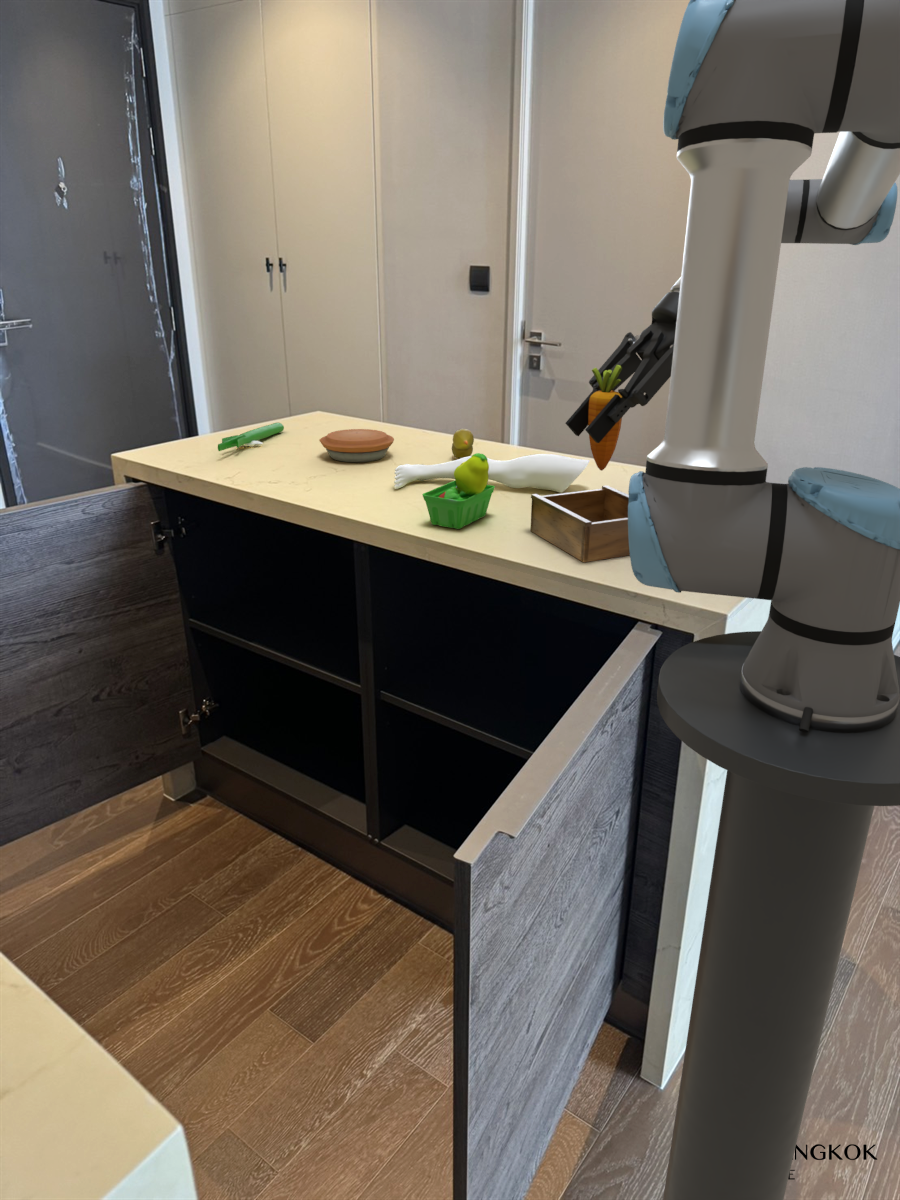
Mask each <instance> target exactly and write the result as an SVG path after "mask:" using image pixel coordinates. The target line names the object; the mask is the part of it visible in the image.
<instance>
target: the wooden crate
mask: <svg viewBox="0 0 900 1200" xmlns="http://www.w3.org/2000/svg"><path fill="white" fill-rule="evenodd" d="M530 498H531V508H530V509H531V510H530V511H531V512H530V532H531V533H533V534H535V535H537V536H538V537H540V538H541V539H543V540H545V541H547V542H548V543H550V544H552V545H554V546H555V547H557V548H559V549H560V550H562V551H564V552H566V553H567V554H568V555H570V556H572V557H574V558H575V559H577V560H578V561H581V563H589V562H595V561H601V560H607V559H608V560H609V559H615V558H619V557H626V556H630V552H629V538H628V504H629V493H626V492H623V491H622V490H619V489H616V488H615V487H612V486H610V485H608V484H607V485H601V488H596V489H587V490H577V491H571V492H562V493H554V494H546V495H539V494H538V493H532V494H530Z"/></svg>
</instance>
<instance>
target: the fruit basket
mask: <svg viewBox="0 0 900 1200" xmlns="http://www.w3.org/2000/svg"><path fill="white" fill-rule="evenodd" d="M471 456H472V457H471V458H469V459H468V460H467V461H465V462H463V463H462V464H460V466H458V467H457V468H456V469H455V471H454V477H455V479H454V480H452V481H450V482H447V483H446V484H445V483H444V484H443V485H441V486H438V487H436V488H434V489H431V490H429V491H426V492H424V493H422V498H423V500H424V502H425V505H426V509H427V512H428V516H429V520H430V523H431V525H434V526H440V527H444V528H451V529H455V530H460V529H462V528H464V527H465V526H466V527H467V526H468V525H470V524H472V523H474V522H477V521H478V520H479V519H482V518H484V517H486V514H487V511H488V508H489V505H490V501H491V498H492V494H493V493H494V491H495V488H496V486H495V485H491V484H488V482H489V479H488V470H489V464H488V462H487V460H488V459H487V458H488V457H487V456H486V454H484V453H479V452H476V453H474V454H471Z"/></svg>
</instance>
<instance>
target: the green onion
mask: <svg viewBox="0 0 900 1200" xmlns="http://www.w3.org/2000/svg"><path fill="white" fill-rule="evenodd" d="M284 429H285V426H284V424H282V423H281V422H274V423H273V422H272V423H271V424H266V425H263V426H260V427H256V428H253V429H251V430H250V429H249V430H247V431H245V432H243V433H240V434H236V435H232V436H227V437H221V442H220V443H218V444H217V451H218V452H222V451H224V450H228V449H231V448H235V447H236V448H237V449H239V448H240V447H251V448H252V447H255V446H256V445H263V444H264V443H263V441H260V440H263V439H266V438H270V437H271V436H273V435H276V434H279V433H282V432H283V431H284Z"/></svg>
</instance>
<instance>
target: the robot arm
mask: <svg viewBox="0 0 900 1200" xmlns="http://www.w3.org/2000/svg"><path fill="white" fill-rule="evenodd" d="M671 61H672V62H671V66H670V72H669V76H668V83H667V89H666V93H667V94H666V97H665V106H664V109H663V110H664V111H663V121H662V130H663V134H664V135H665V137H667V138H670V139H671V140H677V149H676V160H677V161H678V162H679V164H680V165H681V166H682V167H683V169H684V170H685V171H686V172H687V174H688V175H689V178H690V191H689V198H688V199H689V200H688V208H687V219H686V229H685V237H684V245H683V246H684V247H683V256H682V266H681V274H680V277H679V278H678V279H677V280H676V281H675V283H674V284H673V285H672V286H671V287H670V291H669V292H667V293H665V295H664V296H662V298H661V299H660V300H659V302H657V304H656V305H655V306H654V307H653V309H652V311H651V323H650V325H648V326H647V327H646V328H645V329H643V330H642V331H641V332H640V334H638V335H637V334H636V335H634V334H633V333H632V332H631V331H629V332H627V333H626V334H625V335H624V337H623V338H622V340H621V342H620V344H619V345H618V347H617V348H616V349H615V350H614V351H613V352H612V353H611V354H610V356H609V357H608V358H607V359H606V361H604V363H603V364H602V365H601V366H600V367H599V369H598V371H599V372H600V375H601V378H602V381H603V372H604V371H605V370H607V371H608V370H611V371H612V373H613V371H614V369H615V367H616V365H620V366H621V368H622V370H621V372H620V374H619V376H618V377H617V379H616V380H618V379H620V380H621V382H620V383H619V384H618V385H617V386H616V387H614V388H613V389H612V391H617V392H619V393H620V395H621V396H622V398H621V397H620V396H619V395H617V394H615V395H614V397H613V398H612V399H611V400H610V401H609V402H608V404H607V405H606V406H605V407H604V408H603V409H602V411H601V412H600V413H599V414H598V415H597V416H596V418H595V419H594V420H593V421H592V422H591V423H590V425H589V426H588V415H589V399H590V396H591V395H592V394H593V393H595V392H596V391H600V390H601V389H600V386H599V384H598V382H597V379H596V377H595V375H594V374H593V376H592V377H591V378H590V379H589V380H588V384H589V385H590V386H591V388H592V390H591V392H590V393H589V394H588V395H587V397H586V398H585V399H584V400H583V401H582V402H581V403H580V405H579V407H578V408H577V409H576V410H575V411H574V412H573V413H572V414H571V416H570V417H569V418H568V419H567V420H566V421H565V425H566V426H567V427H568V428H569V429H570V430H571V432H572V433H573V434H574V435H575V436H577V437H580V435H581V434H582V433H583V432H584V431H586V433H587V434H588V436H589V435H590V436H591V437H592V438H593V440H594V441H595V442H596V443H600V441H601V440H602V439H603V438H604V437H605V436H606V434H607V433H608V432H609V431H610V430H611V429H612V427H613V426H614V425H615V424H616V423H617V422H618V421H619V420H620V419H621V418H622V419H623V417H624V416H625V415H626V414H627V412H628V411H629V410H630V409H631V408H635V407H636V406H637V405H640V406H641V407H645V406H646V405H647V404H649V402H650V401H651V400H653V399H652V398H654V397H655V396H656V394H657V393H658V392H659V391H660V390H661V388H663V386H664V385H665V383H667V382H668V380H669V379H670V380H669V389H668V400H667V409H666V419H665V427H664V437H663V439H662V441H661V443H660V444H659V445H657V447H655V448H654V449H653V450H652V451H651V452H650V453H648V454H647V455H646V464H645V471H642V470H640V471H637V472H634V473H633V474H632V475H631V476H630V479H629V483H628V495H629V504H628V538H629V552H630V555H629V561H630V567H631V570H632V573H633V575H634V577H635V579H636V580H637V581H638V582H639V583H641V584H642V585H644V586H647V587H652V588H658V589H665V590H672V591H674V592H675V593H678V594H681V593H682V592H687V593H698V594H706V595H707V594H708V595H715V596H716V595H718V596H727V597H737V598H744V599H745V598H747V599H756V600H765V601H770V605H769V612H768V618H767V621H766V622H765V624H764V626H763V628H762V629H761V630H760V631H761V633H760V635H759V637H758V638H757V640H756V642H755V644H754V646H753V647H752V649H751V650H750V652H749V654H748V655H747V657H746V660H745V662H744V664H743V666H742V672H741V679H740V688H741V691H742V693H743V694H744V696H745V697H746V698H747V699H748V700H749V701H750V702H751V703H752V704H753V705H755V706H756V707H757V708H759V709H760V710H762V711H764V712H765V713H767V714H769V715H771V716H773V717H775V718H778V719H780V720H783V721H785V722H788V723H791V724H794V725H798V726H800V727H799V730H800V731H801V732H805V733H807V732H808V731H809V728H810V729H815V730H821V731H828V732H842V733H852V732H864V731H870V730H874V729H878V728H880V727H883V726H885V725H887V724H888V723H890V722H891V721H892V720H893V719H894V717H895V715H896V712H897V708H898V704H899V699H900V694H899V685H898V679H897V672H896V666H895V659H894V655H895V654H894V648H893V635H894V630H895V625H896V621H897V617H898V613H899V609H900V488H899V487H897V486H895V485H893V484H891V483H889V482H886V481H883V480H881V479H879V478H878V479H877V478H875V477H871V476H868V475H864V474H861V473H856V472H851V471H847V470H843V469H837V468H830V467H821V466H815V467H808V466H804V467H798V468H796V469H794V470H793V471H792V473H791V475H790V476H788V478H787V479H788V480H787V483H779V482H768V481H767V476H768V468H769V463H768V462H767V461H766V459H765V458H764V457H763V456H762V455H761V454H760V452H759V451H758V450H757V449H756V445H755V441H756V432H757V425H758V420H759V419H758V417H759V410H760V404H761V403H760V402H761V395H762V387H763V381H764V373H765V366H766V358H767V351H768V345H769V343H768V342H769V336H770V329H771V321H772V315H773V314H772V313H773V305H774V299H775V292H776V291H775V290H776V285H777V284H776V283H777V278H778V277H777V276H778V268H779V263H780V261H779V260H780V254H781V248H782V247H781V246H782V244H817V245H819V244H820V245H821V244H824V245H852V246H859V245H861V244H877V243H881V242H882V241H884V240H886V239H887V237H888V235H889V233H890V230H891V227H892V225H893V223H894V218H895V215H896V208H897V202H898V186H897V183H896V181H897V179H898V178H899V177H900V0H689V1H688V4H687V6H686V8H685V10H684V14H683V16H682V20H681V23H680V27H679V31H678V35H677V39H676V42H675V47H674V51H673V55H672V60H671ZM834 133H835V134H836V133H838V136H837V139H836V142H835V145H834V146H833V150H832V153H831V155H830V158H829V160H828V163H827V165H826V168H825V172H824V173H823V177H822V178H814V179H812V178H811V179H791V178H792V175H794V173H795V172H796V171H797V170H798V169H799V168H800V167H801V166H802V165H803V164H804V163H805V162H806V161H807V160H808V159H809V158H810V157H811V156H812V153H813V145H814V138H815V134H834ZM612 373H611V375H612ZM611 375H610V377H611ZM610 377H609V378H610ZM630 377H631V378H630ZM629 378H630V379H629ZM628 379H629V381H628V382H627V383H626V385H625V387H624V388H620V386H622V385H623V384H624V383H625V382H626V381H627V380H628ZM617 389H618V390H617Z"/></svg>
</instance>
